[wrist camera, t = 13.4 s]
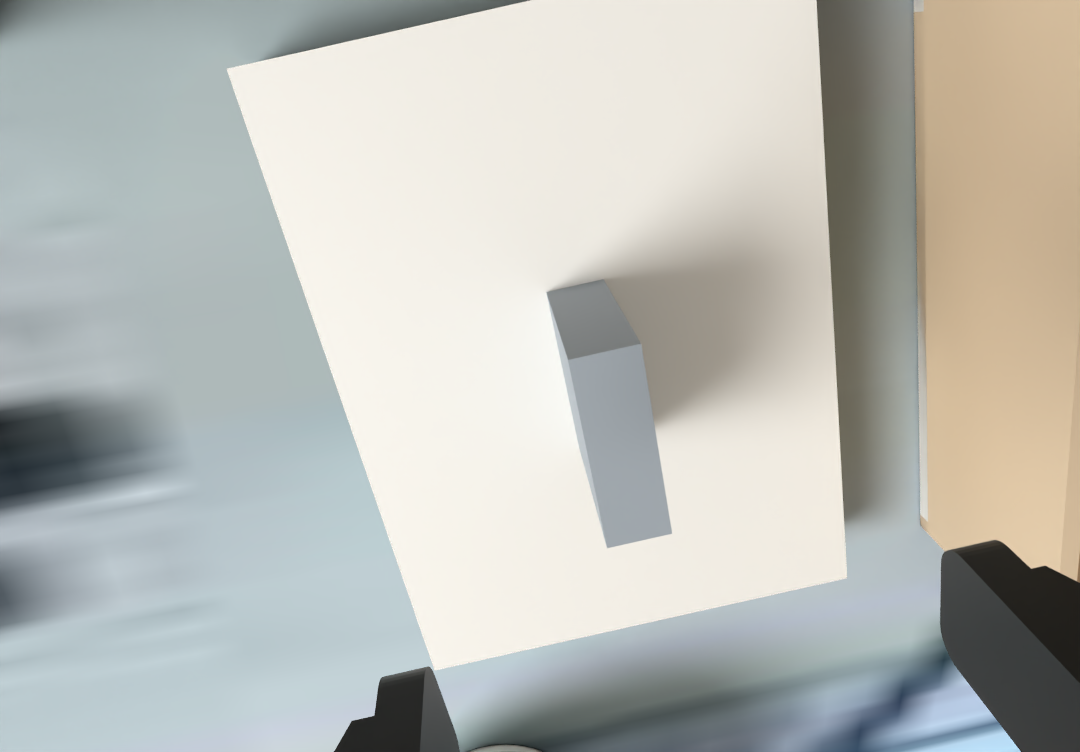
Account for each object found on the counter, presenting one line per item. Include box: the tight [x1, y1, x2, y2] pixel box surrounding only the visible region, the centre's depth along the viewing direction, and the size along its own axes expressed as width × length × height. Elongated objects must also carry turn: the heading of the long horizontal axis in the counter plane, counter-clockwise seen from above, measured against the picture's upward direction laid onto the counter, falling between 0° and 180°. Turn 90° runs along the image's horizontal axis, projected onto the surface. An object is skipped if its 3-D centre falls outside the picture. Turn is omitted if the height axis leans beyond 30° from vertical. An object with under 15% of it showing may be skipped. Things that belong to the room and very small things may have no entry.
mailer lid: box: [227, 0, 847, 670], centre depth 21 cm, size 19×14×8 cm
